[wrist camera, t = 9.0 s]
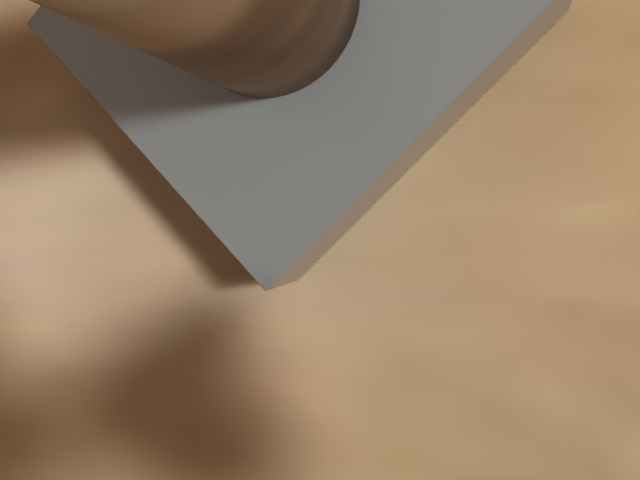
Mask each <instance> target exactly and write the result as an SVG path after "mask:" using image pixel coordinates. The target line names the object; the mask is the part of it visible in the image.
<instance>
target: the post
mask: <svg viewBox="0 0 640 480" xmlns="http://www.w3.org/2000/svg"><path fill="white" fill-rule="evenodd" d="M30 1H32V2H35V3H37V4H39V5H41V6H44V7H46V8H48V9H50V10H52V11H55V12H57V13H59V14H61V15H63V16H66V17H68V18H70V19H72V20H75V21H77V22H79V23H81V24H83V25H86V26H88V27H90V28H92V29H95V30H97V31H99V32H101V33H103V34H106V35H108V36H110V37H112V38H114V39H117V40H119V41H121V42H123V43H126V44H128V45H130V46H132V47H134V48H137V49H139V50H141V51H143V52H145V53H148V54H150V55H152V56H154V57H157V58H159V59H161V60H163V61H165V62H168V63H170V64H172V65H174V66H176V67H179V68H181V69H183V70H185V71H188V72H190V73H192V74H194V75H196V76H199V77H201V78H203V79H205V80H208V81H210V82H212V83H214V84H216V85H219V86H221V87H223V88H225V89H227V90H230V91H232V92H235V93H237V94H240V95H244V96H248V97H253V98H274V97H280V96H284V95H288V94H291V93H294V92H296V91H299V90H301V89H303V88H305V87H307V86H309V85H310V84H312V83H313V82H315V81H316V80H317V79H319V78H320V77H321V76H322V75H323V74H325V73H326V72H327V71H328V70H329V69H330V68H331V67H332V66H333V64H334V63H335V62H336V61H337V60H338V58H339V57H340V55H341V54H342V52H343V51H344V49H345V48H346V46H347V44H348V42H349V40H350V38H351V36H352V33H353V30H354V28H355V25H356V21H357V17H358V13H359V6H360V0H30Z"/></svg>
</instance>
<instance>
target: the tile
mask: <svg viewBox="0 0 640 480" xmlns="http://www.w3.org/2000/svg"><path fill="white" fill-rule="evenodd" d="M571 2H572V0H360V6H359V13H358V17H357V21H356V25H355V28H354V30H353V33H352V36H351V38H350V40H349V42H348V44H347V46H346V48H345V49H344V51H343V52H342V54H341V55H340V57H339V58H338V60H337V61H336V62H335V63H334V64H333V66H332V67H331V68H330V69H329V70H328V71H327V72H326V73H325V74H323V75H322V76H321V77H320V78H319V79H317V80H316V81H315V82H313V83H312V84H310V85H309V86H307V87H305V88H303V89H301V90H299V91H296V92H294V93H291V94H288V95H284V96H280V97H274V98H253V97H248V96H244V95H240V94H237V93H235V92H232V91H230V90H227V89H225V88H223V87H221V86H219V85H216V84H214V83H212V82H210V81H208V80H205V79H203V78H201V77H199V76H196V75H194V74H192V73H190V72H188V71H185V70H183V69H181V68H179V67H176V66H174V65H172V64H170V63H168V62H165V61H163V60H161V59H159V58H157V57H154V56H152V55H150V54H148V53H145V52H143V51H141V50H139V49H137V48H134V47H132V46H130V45H128V44H126V43H123V42H121V41H119V40H117V39H114V38H112V37H110V36H108V35H106V34H103V33H101V32H99V31H97V30H95V29H92V28H90V27H88V26H86V25H83V24H81V23H79V22H77V21H75V20H72V19H70V18H68V17H66V16H63V15H61V14H59V13H57V12H55V11H52V10H50V9H48V8H46V7H44V6H40V7H39V9H38V10H37V12H36V13H35V14H34V16H33V17H32V18H31V20H30V21H29V22H28V25H29V26H30V27H31V28H32V30H33V31H34V32H35V33H36V34H37V35H38V36H39V37H40V38H41V40H42V41H43V42H44V43H45V44H46V45H47V46H48V47H49V49H50V50H51V51H52V52H53V53H54V54H55V55H56V56H57V58H58V59H59V60H60V61H61V62H62V63H63V64H64V65H65V67H66V68H67V69H68V70H69V71H70V72H71V73H72V74H73V76H74V77H75V78H76V79H77V80H78V81H79V82H80V83H81V85H82V86H83V87H84V88H85V89H86V90H87V91H88V92H89V93H90V95H91V96H92V97H93V98H94V99H95V100H96V101H97V102H98V104H99V105H100V106H101V107H102V108H103V109H104V110H105V111H106V113H107V114H108V115H109V116H110V117H111V118H112V119H113V120H114V122H115V123H116V124H117V125H118V126H119V127H120V128H121V129H122V131H123V132H124V133H125V134H126V135H127V136H128V137H129V138H130V140H131V141H132V142H133V143H134V144H135V145H136V146H137V147H138V148H139V150H140V151H141V152H142V153H143V154H144V155H145V156H146V157H147V159H148V160H149V161H150V162H151V163H152V164H153V165H154V166H155V168H156V169H157V170H158V171H159V172H160V173H161V174H162V175H163V177H164V178H165V179H166V180H167V181H168V182H169V183H170V184H171V186H172V187H173V188H174V189H175V190H176V191H177V192H178V193H179V195H180V196H181V197H182V198H183V199H184V200H185V201H186V202H187V203H188V205H189V206H190V207H191V208H192V209H193V210H194V211H195V212H196V214H197V215H198V216H199V217H200V218H201V219H202V220H203V221H204V223H205V224H206V225H207V226H208V227H209V228H210V229H211V230H212V232H213V233H214V234H215V235H216V236H217V237H218V238H219V239H220V241H221V242H222V243H223V244H224V245H225V246H226V247H227V248H228V250H229V251H230V252H231V253H232V254H233V255H234V256H235V257H236V258H237V260H238V261H239V262H240V263H241V264H242V265H243V266H244V267H245V269H246V270H247V271H248V272H249V273H250V274H251V275H252V276H253V278H254V279H255V280H256V281H257V282H258V283H259V284H260V285H261V287H262V288H263V289H264V290H265V291H267V290H270V289H273V288H276V287H279V286H282V285H285V284H288V283H291V282H294V281H297V280H298V279H299V278H300V277H301V276H302V275H303V274H304V273H305V272H306V271H307V270H308V269H309V268H310V267H311V266H312V265H313V264H314V263H315V262H316V261H317V260H318V259H319V258H320V257H321V256H322V255H323V254H324V253H325V252H326V251H327V250H328V249H329V248H330V247H331V246H332V245H333V244H334V243H335V242H336V241H337V240H338V239H339V238H340V237H341V236H342V235H343V234H344V233H345V232H346V231H347V230H348V229H349V228H350V227H351V226H352V225H353V224H354V223H355V222H356V221H357V220H358V219H359V218H360V217H361V216H362V215H363V214H364V213H365V212H366V211H367V210H368V209H369V208H370V207H371V206H372V205H373V204H374V203H375V202H376V201H377V200H378V199H379V198H380V197H382V196H383V195H384V194H385V193H386V192H387V191H388V190H389V189H390V188H391V187H392V186H393V185H394V184H395V183H396V182H397V181H398V180H399V179H400V178H401V177H402V176H403V175H404V174H405V173H406V172H407V171H408V170H409V169H410V168H411V167H412V166H413V165H414V164H415V163H416V162H417V161H418V160H419V159H420V158H421V157H422V156H423V155H424V154H425V153H426V152H427V151H428V150H429V149H430V148H431V147H432V146H433V145H434V144H435V143H436V142H437V141H438V140H439V139H440V138H441V137H442V136H443V135H444V134H445V133H446V132H447V131H448V130H449V129H450V128H451V127H452V126H453V125H454V124H455V123H456V122H457V121H458V120H459V119H460V118H461V117H462V116H463V115H464V114H465V113H466V112H467V111H468V110H469V109H470V108H471V107H472V106H473V105H474V104H475V103H476V102H477V101H478V100H479V99H480V98H481V97H482V96H483V95H484V94H485V93H486V92H487V91H488V90H489V89H490V88H491V87H492V86H493V85H494V84H495V83H496V82H497V81H498V80H499V79H500V78H501V77H502V76H503V75H504V74H505V73H506V72H507V71H508V70H509V69H510V68H511V67H512V66H513V65H514V64H515V63H516V62H517V61H518V60H519V59H520V58H521V57H522V56H523V55H524V54H525V53H526V52H527V51H528V50H529V49H530V48H531V47H532V46H533V45H534V44H535V43H536V42H537V41H538V40H539V39H540V38H541V37H542V36H543V35H544V34H545V33H546V32H547V31H548V30H549V29H550V28H551V27H552V26H553V25H554V24H555V23H556V22H557V21H558V20H559V19H560V18H561V17H562V16H563V15H564V14H565V13H566V12H567V11H568V10H569V8H570V5H571Z"/></svg>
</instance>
